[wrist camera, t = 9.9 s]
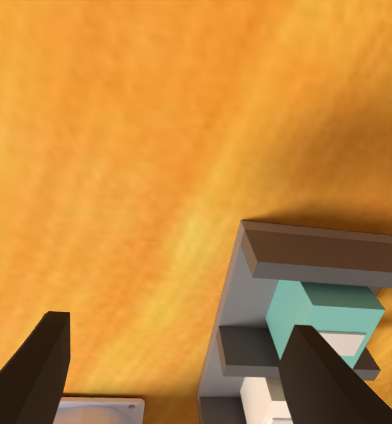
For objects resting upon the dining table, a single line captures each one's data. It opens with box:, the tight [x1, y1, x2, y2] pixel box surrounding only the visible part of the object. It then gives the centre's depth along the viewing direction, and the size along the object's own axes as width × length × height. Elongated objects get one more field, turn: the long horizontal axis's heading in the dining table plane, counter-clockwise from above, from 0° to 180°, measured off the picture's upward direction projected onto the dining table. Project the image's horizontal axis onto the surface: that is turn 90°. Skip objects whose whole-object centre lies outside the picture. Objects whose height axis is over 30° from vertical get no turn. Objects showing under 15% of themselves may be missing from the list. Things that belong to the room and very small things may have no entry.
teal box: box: [266, 280, 385, 369], centre depth 20 cm, size 4×5×4 cm
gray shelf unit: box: [197, 220, 392, 424], centre depth 23 cm, size 10×16×4 cm, turn 171°
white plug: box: [240, 377, 293, 424], centre depth 24 cm, size 4×5×4 cm
